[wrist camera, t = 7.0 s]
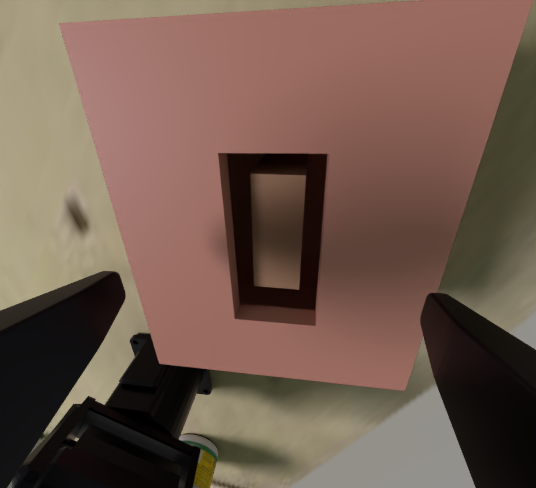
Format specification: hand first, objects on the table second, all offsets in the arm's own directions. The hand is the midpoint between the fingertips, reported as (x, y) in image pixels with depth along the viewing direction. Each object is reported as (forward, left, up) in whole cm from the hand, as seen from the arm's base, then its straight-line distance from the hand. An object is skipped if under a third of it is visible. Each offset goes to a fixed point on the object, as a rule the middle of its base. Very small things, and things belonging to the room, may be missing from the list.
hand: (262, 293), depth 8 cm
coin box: (0, 0, -10) cm, 10 cm away
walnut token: (0, 0, -8) cm, 9 cm away
